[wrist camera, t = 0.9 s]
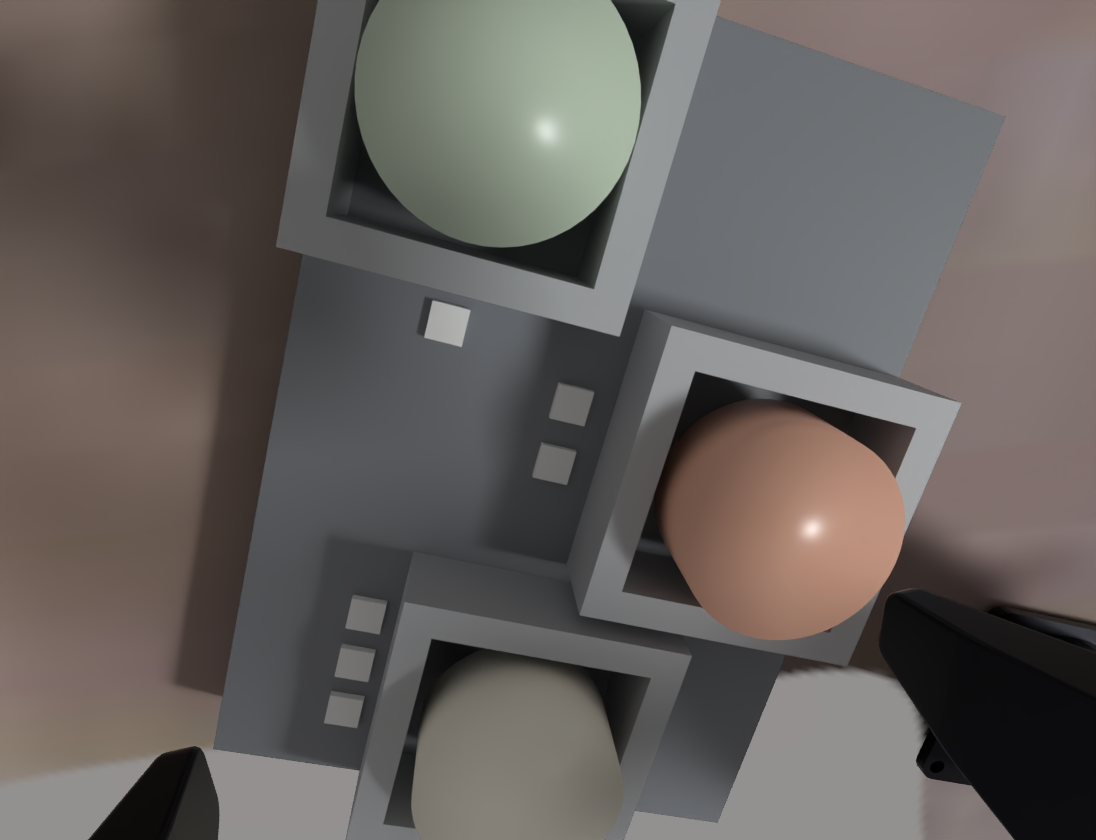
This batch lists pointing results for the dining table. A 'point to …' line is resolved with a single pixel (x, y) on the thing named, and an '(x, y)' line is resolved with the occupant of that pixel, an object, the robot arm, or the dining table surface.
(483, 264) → the button panel
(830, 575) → the terracotta button
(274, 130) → the dining table surface
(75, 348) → the dining table surface
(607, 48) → the sage button
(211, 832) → the robot arm
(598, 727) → the cream button
